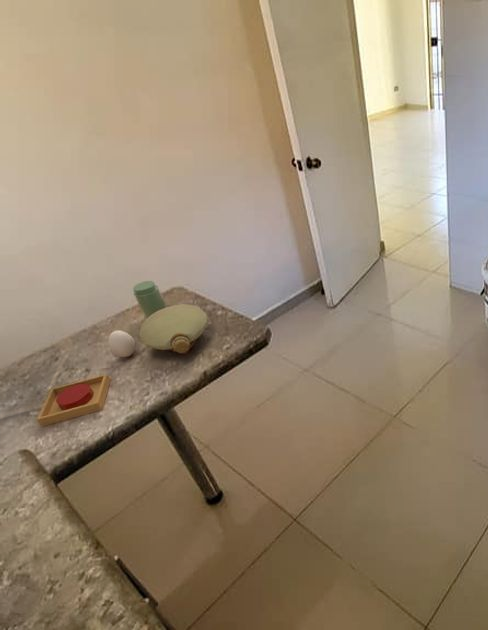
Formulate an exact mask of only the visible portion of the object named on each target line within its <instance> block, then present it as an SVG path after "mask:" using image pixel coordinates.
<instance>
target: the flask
mask: <svg viewBox="0 0 488 630" xmlns="http://www.w3.org/2000/svg"><path fill="white" fill-rule="evenodd" d="M207 327H208V313H206V312H205V311H204V310H203V309H202V308H200V307H199V306H198V305H195V304H186V303H181V304H174V305H173V304H172V305H170V306H167V307H166V308H164V309H161V310H159V311H157V312H155V313H154V314H152V315H151V316H149V317H148V318H147V319H146V318H145V320H144V321H143V322H142V323H141V324H140V327H139V328H140V329H139V339H140V340H141V342H142V343H143V344H145V345H146V346H147V347H148V348H152V349H156V350H163V351H166V350H169V351H172V352H175V353H179V354H182V355H186V354H188V353H189V351H190V349H191V348H192V347H193V346H194V344H195V343H196V341H197V339H198V338H199V337H200V336H201V335H202V333H203V332H204V331H205V330H206V329H207Z"/></svg>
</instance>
